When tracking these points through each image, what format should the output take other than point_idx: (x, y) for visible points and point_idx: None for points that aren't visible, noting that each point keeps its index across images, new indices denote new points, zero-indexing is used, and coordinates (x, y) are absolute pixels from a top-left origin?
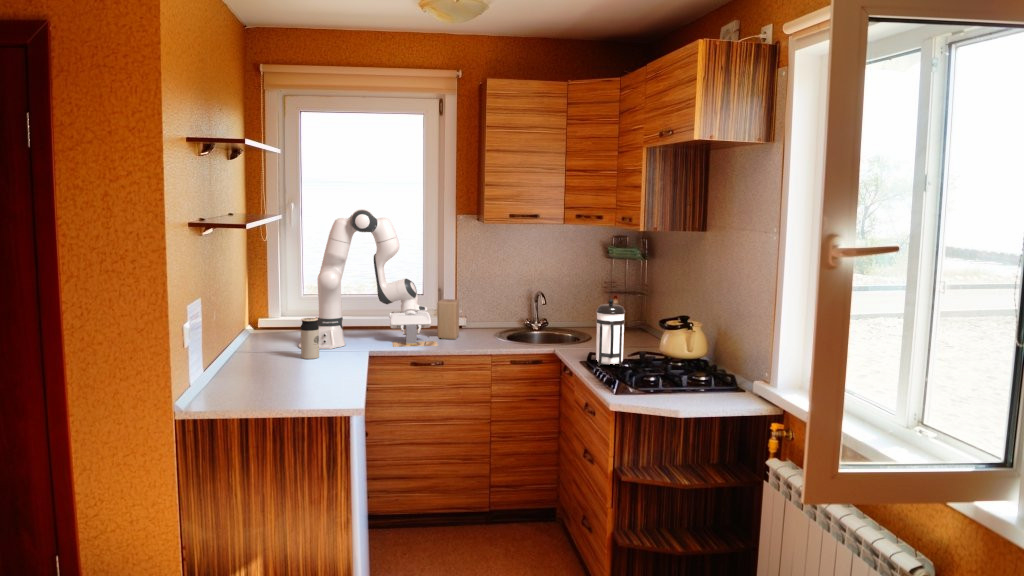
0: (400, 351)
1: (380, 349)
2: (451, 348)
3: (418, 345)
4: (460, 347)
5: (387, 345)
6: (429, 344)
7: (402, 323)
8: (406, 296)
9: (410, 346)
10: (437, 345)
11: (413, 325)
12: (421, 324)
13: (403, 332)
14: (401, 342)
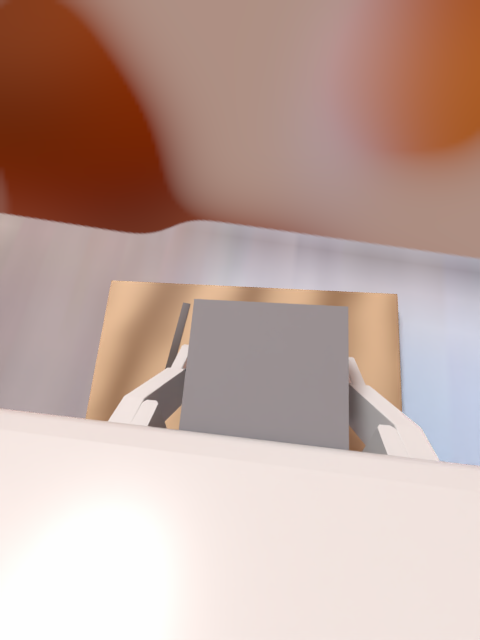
0: (340, 249)
1: (472, 330)
2: (57, 283)
3: None
4: (7, 300)
5: None
6: (151, 328)
7: (436, 479)
8: None
9: (277, 289)
10: (114, 288)
11: (226, 386)
12: (94, 420)
13: (353, 359)
14: None
